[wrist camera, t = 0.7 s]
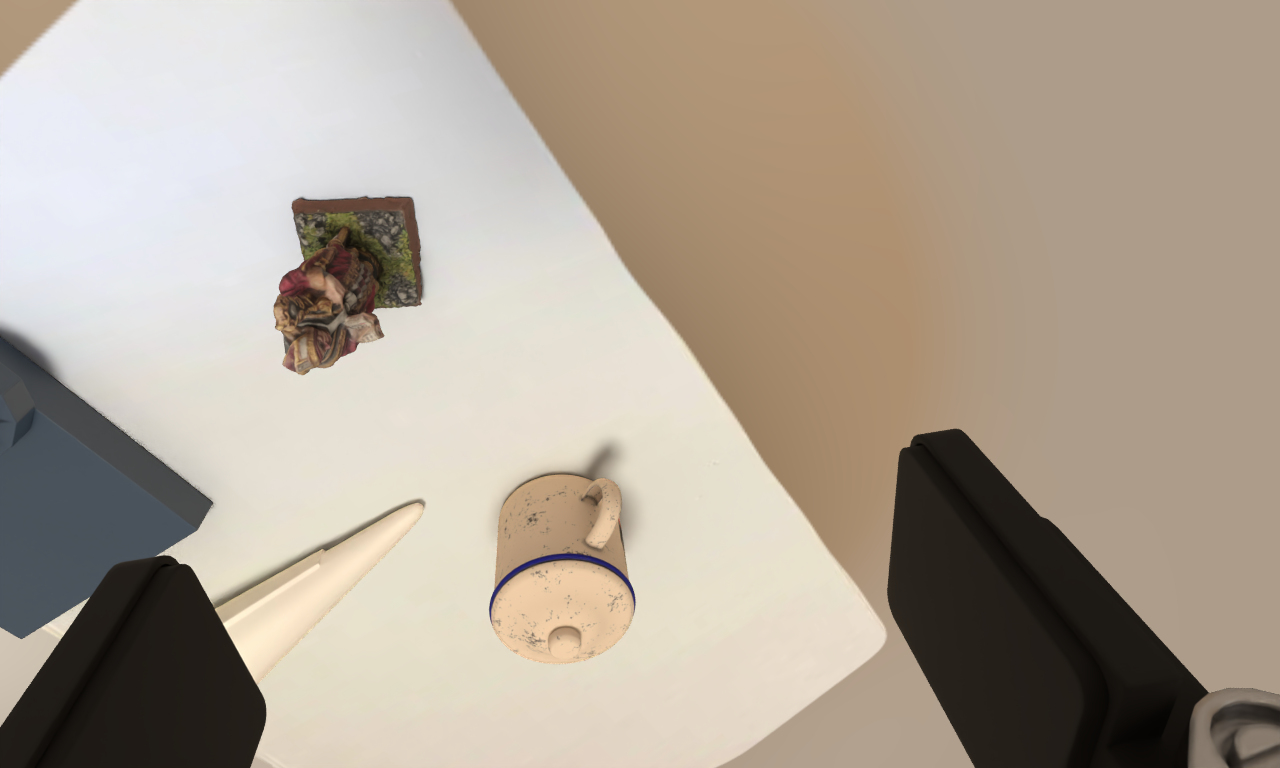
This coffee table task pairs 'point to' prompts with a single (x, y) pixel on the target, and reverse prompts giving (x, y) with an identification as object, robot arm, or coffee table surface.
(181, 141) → the coffee table surface
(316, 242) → the figurine
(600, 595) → the teacup with lid
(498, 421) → the coffee table surface
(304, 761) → the coffee table surface
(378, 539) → the long cone
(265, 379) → the coffee table surface
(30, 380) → the button box
